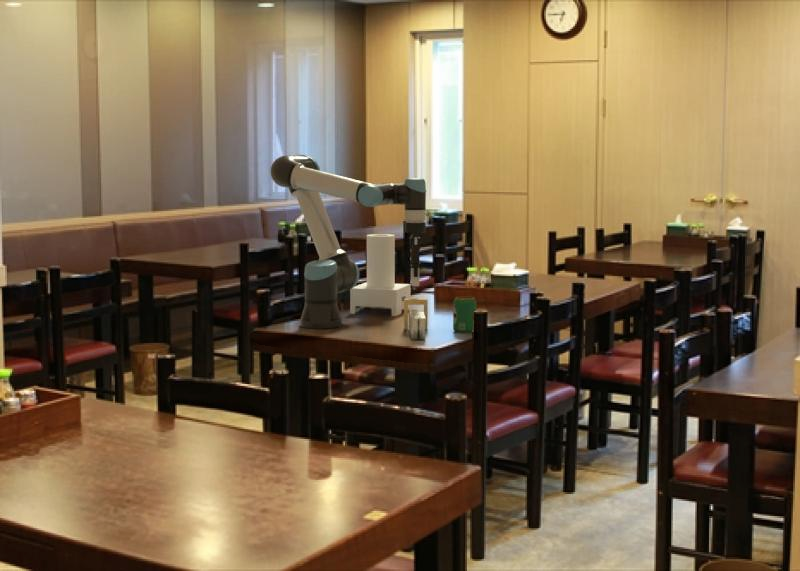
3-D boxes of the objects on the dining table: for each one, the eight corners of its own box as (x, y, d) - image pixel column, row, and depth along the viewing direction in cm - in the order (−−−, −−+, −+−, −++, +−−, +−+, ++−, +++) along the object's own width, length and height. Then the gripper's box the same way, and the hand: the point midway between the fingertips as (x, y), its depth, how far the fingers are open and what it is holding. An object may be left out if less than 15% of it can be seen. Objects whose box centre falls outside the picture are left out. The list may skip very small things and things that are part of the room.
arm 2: (416, 330, 404) (416, 310, 403) (423, 330, 404) (423, 310, 403) (418, 339, 386) (418, 319, 385) (425, 339, 386) (425, 319, 385)
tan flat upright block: (404, 328, 408) (404, 298, 407) (427, 328, 409) (427, 298, 407) (404, 329, 406) (404, 299, 405) (427, 329, 406) (427, 299, 405)
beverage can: (451, 329, 407) (452, 296, 405) (474, 329, 407) (474, 296, 406) (454, 333, 399) (454, 299, 397) (477, 333, 399) (477, 299, 398)
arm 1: (409, 330, 404) (409, 310, 403) (415, 330, 404) (415, 310, 403) (411, 339, 386) (411, 319, 385) (418, 339, 386) (418, 319, 385)
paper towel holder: (350, 313, 444) (349, 236, 440) (366, 306, 462) (365, 232, 458) (396, 316, 438) (396, 238, 434) (410, 309, 456) (410, 233, 452)
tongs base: (408, 328, 409) (408, 309, 408) (422, 328, 409) (422, 309, 408) (409, 330, 406) (409, 310, 405) (422, 330, 406) (422, 310, 405)
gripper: (427, 223, 399) (426, 288, 402) (424, 219, 420) (424, 280, 423) (405, 223, 398) (405, 288, 401) (403, 219, 420) (403, 280, 423)
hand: (415, 284), depth 412 cm, fingers open, 9 cm apart
